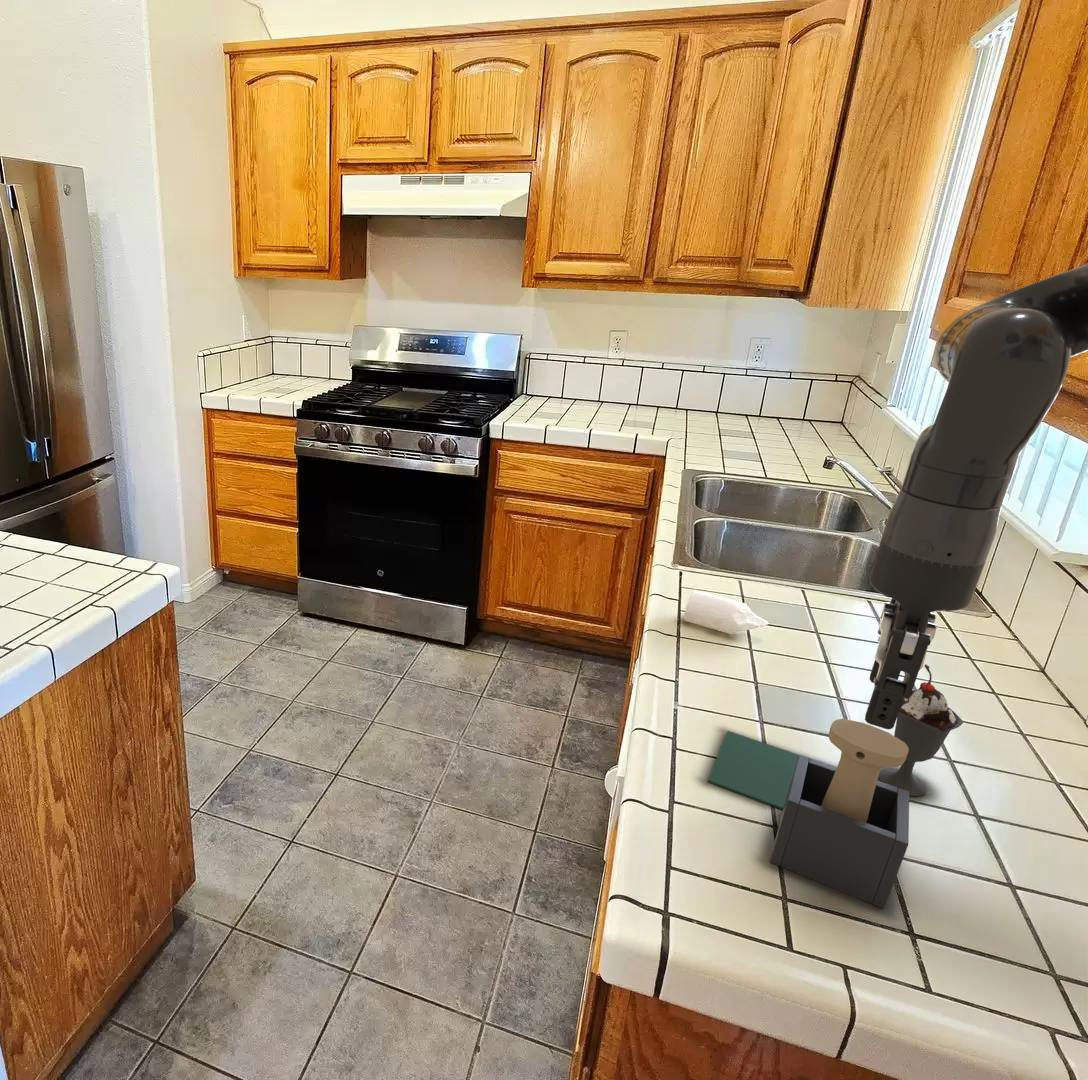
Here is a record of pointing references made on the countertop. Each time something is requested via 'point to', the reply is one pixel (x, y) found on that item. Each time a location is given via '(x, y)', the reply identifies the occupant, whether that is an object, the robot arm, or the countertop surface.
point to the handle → (860, 765)
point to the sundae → (920, 734)
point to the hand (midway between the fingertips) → (879, 703)
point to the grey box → (842, 836)
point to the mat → (754, 769)
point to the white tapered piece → (720, 613)
